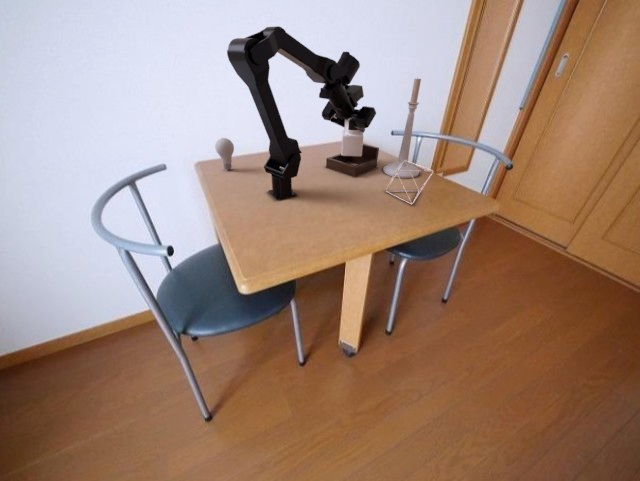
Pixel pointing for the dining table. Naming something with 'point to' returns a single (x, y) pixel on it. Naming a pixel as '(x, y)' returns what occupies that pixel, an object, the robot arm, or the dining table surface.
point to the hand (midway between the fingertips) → (356, 130)
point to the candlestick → (406, 141)
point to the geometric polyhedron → (402, 183)
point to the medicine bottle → (351, 139)
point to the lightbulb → (225, 151)
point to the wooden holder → (364, 162)
